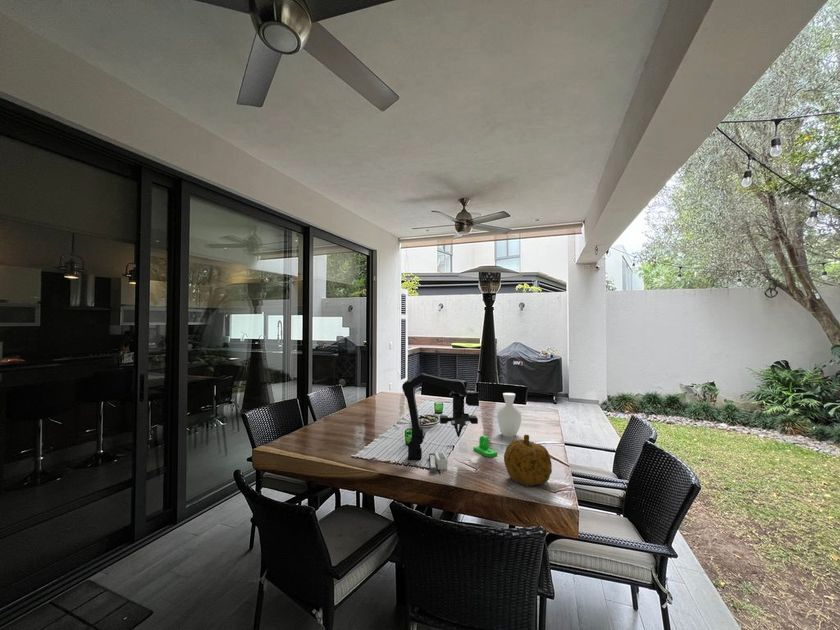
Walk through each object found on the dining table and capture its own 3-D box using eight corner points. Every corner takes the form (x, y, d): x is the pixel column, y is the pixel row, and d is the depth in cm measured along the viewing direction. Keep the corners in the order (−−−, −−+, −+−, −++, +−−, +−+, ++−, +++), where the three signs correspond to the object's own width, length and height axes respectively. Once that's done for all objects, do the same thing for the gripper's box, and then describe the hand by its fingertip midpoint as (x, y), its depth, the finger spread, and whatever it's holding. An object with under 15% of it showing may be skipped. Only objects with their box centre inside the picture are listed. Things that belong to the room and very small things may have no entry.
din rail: (430, 474, 160) (430, 468, 160) (429, 458, 178) (429, 453, 178) (436, 474, 160) (436, 468, 160) (435, 458, 178) (435, 453, 178)
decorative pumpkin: (505, 490, 145) (505, 441, 146) (502, 469, 166) (502, 426, 166) (556, 494, 142) (556, 444, 142) (547, 473, 162) (547, 429, 163)
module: (437, 470, 165) (437, 458, 165) (434, 463, 173) (434, 452, 173) (447, 469, 165) (447, 458, 166) (444, 463, 173) (444, 452, 174)
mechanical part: (473, 450, 190) (473, 435, 191) (482, 448, 193) (482, 434, 194) (488, 458, 180) (488, 442, 180) (497, 456, 183) (497, 440, 183)
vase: (496, 437, 213) (496, 395, 214) (498, 430, 227) (498, 391, 227) (521, 439, 209) (520, 397, 209) (521, 432, 222) (521, 392, 223)
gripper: (440, 409, 168) (440, 442, 168) (479, 409, 168) (479, 442, 168) (439, 403, 179) (439, 434, 179) (476, 404, 179) (476, 434, 179)
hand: (458, 436), depth 176 cm, fingers closed
